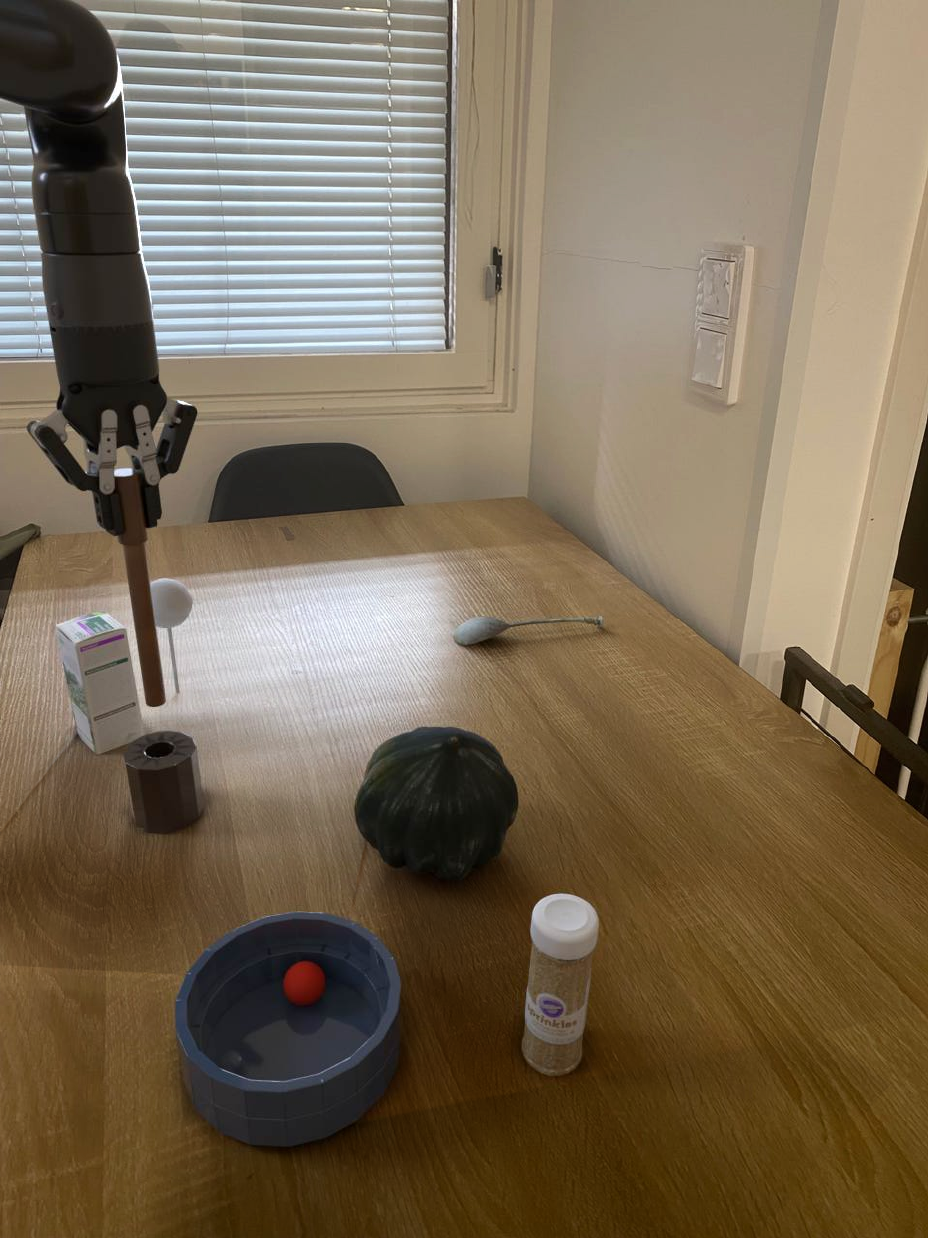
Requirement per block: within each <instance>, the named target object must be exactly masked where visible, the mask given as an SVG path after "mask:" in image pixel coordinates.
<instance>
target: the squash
mask: <svg viewBox="0 0 928 1238" xmlns="http://www.w3.org/2000/svg"><path fill="white" fill-rule="evenodd" d="M518 791H519V790H518V786H517V783H516V780H515V778H514V775H513V774H512V773H511V771H510V770H509V768H508V767H507V766H506V764H505V762H504V760H503V756H502V754H501V753H500V751H499V750H498V749H497V748H496V746H495V745H494V744H493V743H492V742H491V741H489V740H488V739H486V738H485V737H483V736H481V735H479V734H477V733H475V732H473V731H469V730H465V729H463V728H459V727H457V726H420V727H419V726H418V727H416V728H415V729H413V730H411V731H408V732H407V731H406V732H402V733H400V734H397V735H395V736H392V737H390V738H388V739H386V740H385V741H383V742H382V743H381V744H380V745H379V746H378V747H376V749H375V750H374V751H373V753H372V755H371V757H370V759H369V760H368V762H367V764H366V768H365V770H364V776H363V781H362V783H361V784H360V786H359V789H358V791H357V793H356V796H355V799H354V805H353V811H354V819H355V823H356V827H357V828H358V831H359V833H360V835H361V836H362V838H363V839H364V840H365V841H366V842H367V843H368V844H369V845H370V846H371V847H372V848H373V849H374V850H377V852H378V853H379V855H380V857H381V859H382V861H383V862H385V863H386V864H387V865H388V866H389V867H391V868H394V869H401V868H404V867H407V869H408V870H409V871H410V872H411V873H412V874H415V875H417V876H424V875H427V874H429V873H431V872H432V873H433V874H434V875H435V876H436V877H438V878H439V879H440V880H441V881H444V882H448V883H457V882H460V881H461V880H463V879H464V878H465V877H466V876H467V875H469V873H470V871H471V870H472V871H479V870H481V869H484V868H486V867H487V866H489V865H490V864H491V863H492V862H493V861H495V860H496V859H497V858H498V856H499V855H500V854H501V852H502V849H503V846H504V843H505V839H506V835H507V832H508V830H509V829H510V827H511V826H512V825H513V823H514V822H515V820H516V817H517V813H518V810H519V800H520V799H519V792H518Z"/></svg>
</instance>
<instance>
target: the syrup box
mask: <svg viewBox="0 0 928 1238" xmlns="http://www.w3.org/2000/svg"><path fill="white" fill-rule="evenodd" d="M54 625H55V631H56V636H57V641H58V646H59V652H60V657H61V663H62V666H63V671H64V675H65V682H66V685H67V691H68V697H69V701H70V706H71V710H72V715H73V719H74V723H75V724H74V725H75V729H76V735H77V736H78V737H79V738H80V739H81V740H82V741H83V743H85V744H86V745H87V747H89V749H90V750H91V751H92V752H93V753H94V754H95V755H97V756H98V755H101V754H104V753H107V752H109V751H112V750H115V749H118V748H120V747H122V746H125V745H128V744H129V743H130V742H132V741H134V740H136V739H138V738H139V737H141V736H143V735H145V731H144V726H143V719H142V713H141V706H140V701H139V700H140V699H139V694H138V689H137V683H136V677H135V672H134V665H133V660H132V655H131V649H130V648H131V647H130V643H129V637H128V632H127V631H128V630H127V628H126V627H125V626H123V625H122V623H120V622H119V621H118V620H116V619H115V618H114V617H113V616H111V615H110V614H108V613H107V612H106V611H104V610H102V611H97V612H91V613H87V614H83V615H80V616H77V617H74V618H71V619H68V620H65V621H63V622H60V623H58V624H54Z"/></svg>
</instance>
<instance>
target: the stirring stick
mask: <svg viewBox="0 0 928 1238" xmlns="http://www.w3.org/2000/svg"><path fill="white" fill-rule="evenodd" d="M114 478H115V488H114V491H115V492H117V493H118V495H119V502H120V509H121V516H122V523H123V530H124V533H123V535H119V536H117V541H118V543H119V544H120V545H122V550H123V557H124V565H125V570H126V578H127V585H128V591H129V598H130V605H131V612H132V619H133V624H134V632H135V639H136V645H137V646H136V647H137V652H138V660H139V667H140V675H141V680H142V688H143V694H144V701H145V705H146V706H147V707H149V708H159V707H162V706H163V705H165V704H166V702H167V698H166V697H167V696H166V690H165V689H166V687H165V682H164V675H163V668H162V659H161V652H160V645H159V638H158V637H159V636H158V630H157V626H156V621H155V614H154V606H153V599H152V592H151V584H150V583H151V578H150V570H149V563H148V556H147V548H146V543H147V542H148V541H149V536H148V535H149V534H148V528H147V526H146V519H145V511H144V504H143V496H142V489H141V481H140V473H139V471H138V470H136V469H132V467H130V468H129V467H128V468H126V467H123V468H117V469H114Z"/></svg>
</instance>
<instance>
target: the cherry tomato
mask: <svg viewBox="0 0 928 1238" xmlns="http://www.w3.org/2000/svg"><path fill="white" fill-rule="evenodd" d="M283 989H284V993H285V995H286V997H287V998H288V999H289V1000H290V1001H291V1002H292V1003H294V1004H296V1005H299V1006H307V1005H310V1004H313V1003H314V1002H316V1001H317V1000H318V999H319V998H320V997H321V995H322V994H323V992H324V989H325V976H324V973H323V971H322V969H321V968H320V967H319V966H318V965H317V964H315V963H313V962H310V961H302V962H298V963H296V964H294V965H293V966H292V967H291V968H290V969H289V970H288V971H287V973H286V975H285V977H284V981H283Z"/></svg>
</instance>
